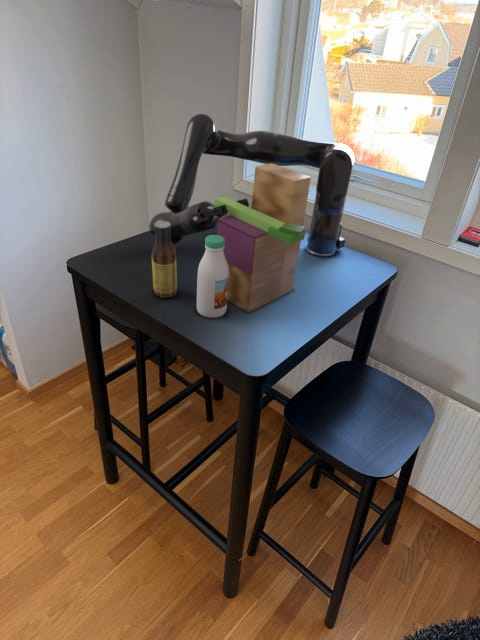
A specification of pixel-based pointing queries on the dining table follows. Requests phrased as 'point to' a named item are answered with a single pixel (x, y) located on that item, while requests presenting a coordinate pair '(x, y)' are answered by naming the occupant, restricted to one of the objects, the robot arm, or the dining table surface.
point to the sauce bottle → (164, 261)
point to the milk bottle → (213, 279)
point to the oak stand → (271, 238)
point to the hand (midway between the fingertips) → (236, 205)
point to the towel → (238, 241)
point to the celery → (263, 221)
